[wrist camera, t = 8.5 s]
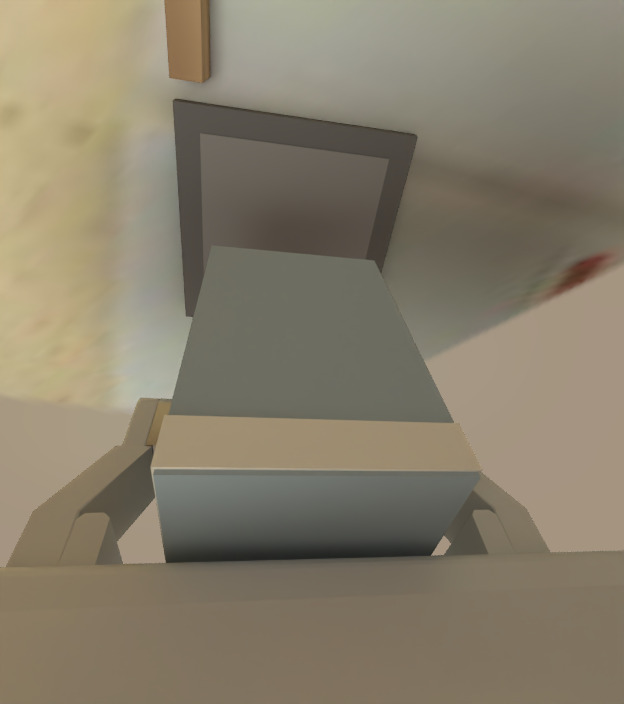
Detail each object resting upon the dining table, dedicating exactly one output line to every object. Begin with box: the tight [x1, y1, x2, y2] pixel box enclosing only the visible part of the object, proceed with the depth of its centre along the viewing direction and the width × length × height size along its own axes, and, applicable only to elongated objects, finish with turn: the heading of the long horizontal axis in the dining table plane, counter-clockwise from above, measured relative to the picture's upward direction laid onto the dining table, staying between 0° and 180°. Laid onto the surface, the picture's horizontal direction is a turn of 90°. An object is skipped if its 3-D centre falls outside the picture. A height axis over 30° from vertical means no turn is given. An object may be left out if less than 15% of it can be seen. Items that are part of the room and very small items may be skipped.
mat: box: [173, 99, 417, 317], centre depth 22 cm, size 11×11×1 cm
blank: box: [150, 245, 482, 563], centre depth 11 cm, size 5×7×8 cm
